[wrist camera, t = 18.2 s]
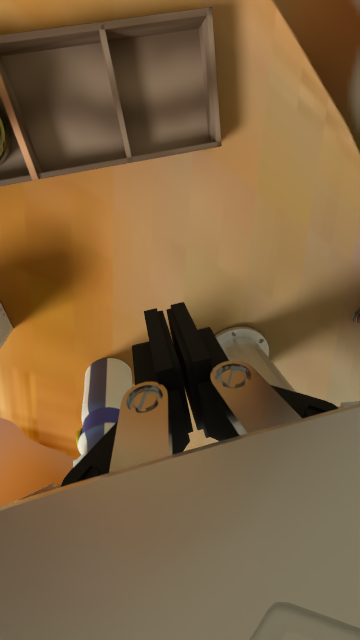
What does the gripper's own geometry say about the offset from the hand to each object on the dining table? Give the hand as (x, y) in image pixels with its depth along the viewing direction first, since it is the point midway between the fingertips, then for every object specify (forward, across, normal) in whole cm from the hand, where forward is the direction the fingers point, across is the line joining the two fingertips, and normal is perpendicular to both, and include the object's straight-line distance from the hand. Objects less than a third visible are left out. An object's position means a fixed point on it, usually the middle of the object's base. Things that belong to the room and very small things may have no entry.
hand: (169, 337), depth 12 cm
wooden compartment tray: (+29, +4, -12) cm, 32 cm away
